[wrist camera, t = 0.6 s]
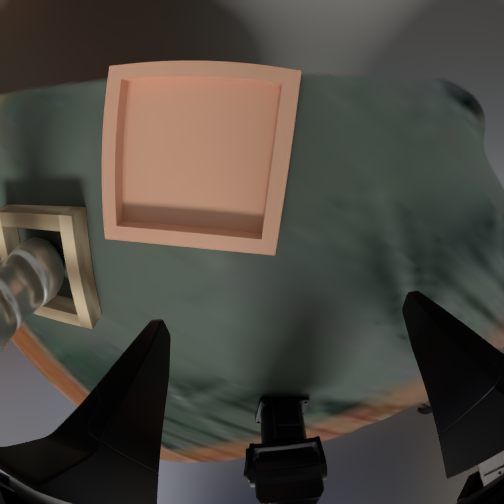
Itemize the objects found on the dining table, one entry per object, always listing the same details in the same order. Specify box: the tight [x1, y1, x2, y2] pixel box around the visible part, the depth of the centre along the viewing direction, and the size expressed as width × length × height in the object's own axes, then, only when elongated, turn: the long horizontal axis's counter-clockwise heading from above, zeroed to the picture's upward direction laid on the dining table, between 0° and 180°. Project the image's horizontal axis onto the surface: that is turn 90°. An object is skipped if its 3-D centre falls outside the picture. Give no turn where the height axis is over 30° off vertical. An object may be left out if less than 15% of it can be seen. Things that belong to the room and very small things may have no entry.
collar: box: [0, 205, 102, 329], centre depth 23 cm, size 12×12×2 cm
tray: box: [102, 61, 301, 255], centre depth 19 cm, size 14×14×2 cm
